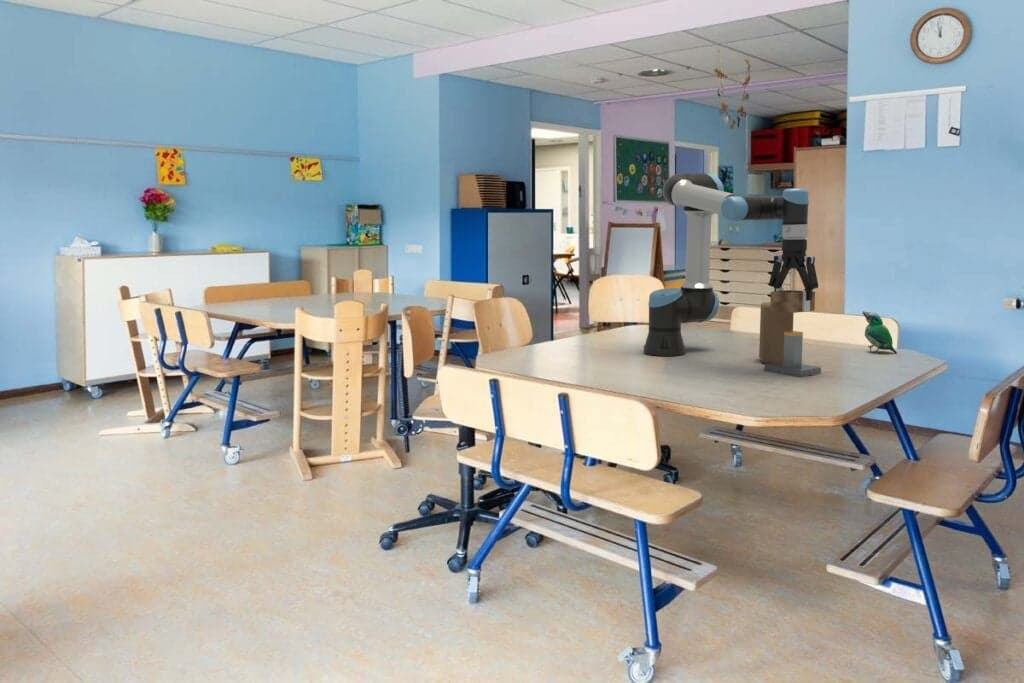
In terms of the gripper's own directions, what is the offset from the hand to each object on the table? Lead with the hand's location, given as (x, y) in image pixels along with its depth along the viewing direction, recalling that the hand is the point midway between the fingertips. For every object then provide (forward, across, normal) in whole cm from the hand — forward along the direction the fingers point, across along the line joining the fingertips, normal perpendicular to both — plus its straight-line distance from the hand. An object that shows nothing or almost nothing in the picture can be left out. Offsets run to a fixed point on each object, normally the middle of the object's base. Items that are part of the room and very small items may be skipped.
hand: (792, 309), depth 268 cm
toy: (+20, -5, +56) cm, 59 cm away
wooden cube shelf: (0, 0, 0) cm, 0 cm away
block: (+20, -16, +12) cm, 29 cm away
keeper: (+20, 0, +1) cm, 20 cm away
